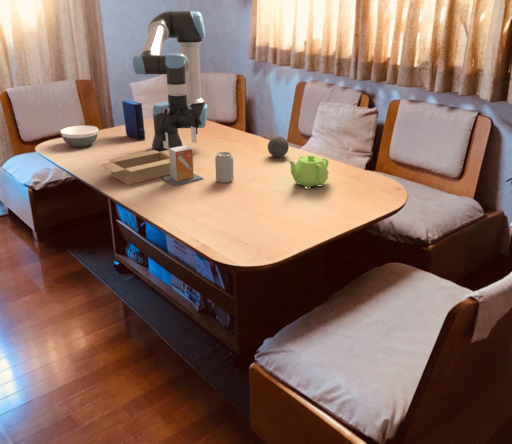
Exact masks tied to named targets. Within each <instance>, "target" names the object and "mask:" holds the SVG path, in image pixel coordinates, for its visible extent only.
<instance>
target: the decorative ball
mask: <svg viewBox="0 0 512 444" xmlns="http://www.w3.org/2000/svg"><path fill="white" fill-rule="evenodd" d="M267 151H268V153H269V154H270V155H271V156H272V157H275V158H282V157H284V156H285V155H287V154H288V151H289V142H288V140H287V139H286V138H284V137H282V136H280V135H279V136H274V137H272V138H270V139H269V141H268V144H267Z"/></svg>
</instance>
